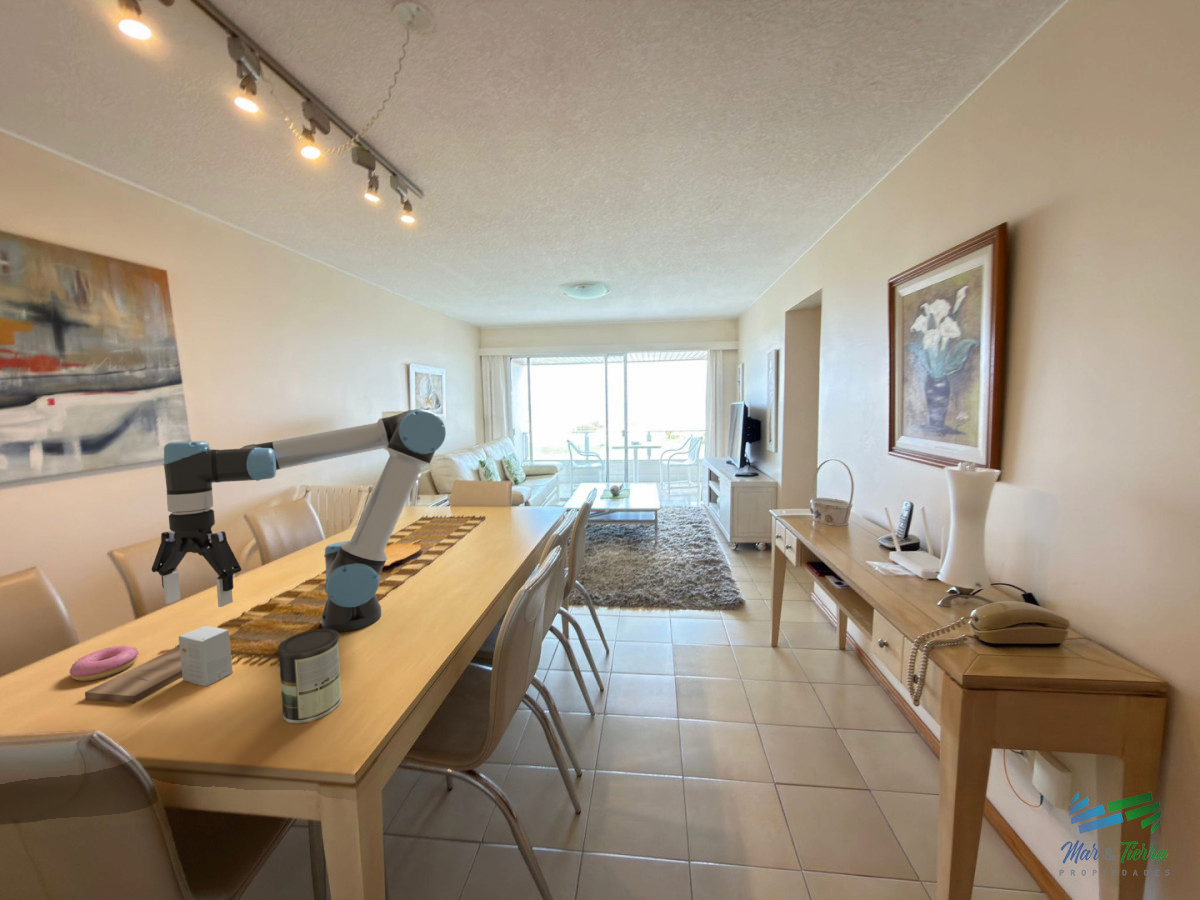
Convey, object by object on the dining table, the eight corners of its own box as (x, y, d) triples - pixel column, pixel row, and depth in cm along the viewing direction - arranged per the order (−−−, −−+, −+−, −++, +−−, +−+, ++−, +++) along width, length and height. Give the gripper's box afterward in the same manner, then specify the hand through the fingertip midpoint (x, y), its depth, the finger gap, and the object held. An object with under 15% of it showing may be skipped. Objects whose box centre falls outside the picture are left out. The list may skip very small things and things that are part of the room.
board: (225, 652, 113) (225, 646, 113) (134, 703, 93) (134, 696, 93) (183, 649, 114) (183, 643, 114) (85, 699, 95) (84, 692, 95)
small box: (233, 673, 104) (229, 629, 103) (205, 687, 98) (201, 641, 98) (210, 667, 106) (206, 624, 105) (181, 680, 101) (177, 635, 100)
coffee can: (270, 726, 86) (265, 655, 85) (301, 692, 96) (297, 629, 95) (326, 722, 87) (322, 652, 86) (351, 690, 97) (347, 627, 96)
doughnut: (109, 657, 111) (108, 641, 111) (152, 658, 111) (151, 641, 111) (55, 684, 100) (53, 666, 100) (102, 684, 100) (100, 666, 100)
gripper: (256, 508, 102) (262, 598, 104) (161, 506, 105) (169, 594, 107) (225, 515, 95) (232, 613, 96) (123, 513, 98) (132, 607, 100)
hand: (199, 603), depth 102 cm, fingers open, 13 cm apart
